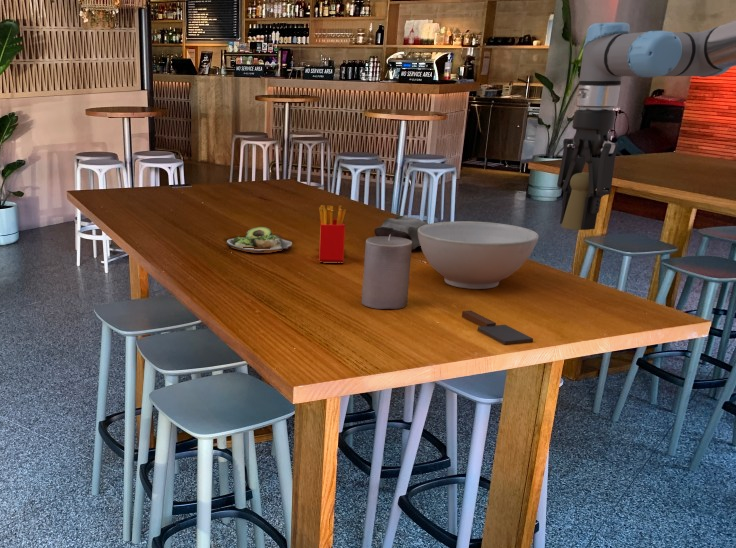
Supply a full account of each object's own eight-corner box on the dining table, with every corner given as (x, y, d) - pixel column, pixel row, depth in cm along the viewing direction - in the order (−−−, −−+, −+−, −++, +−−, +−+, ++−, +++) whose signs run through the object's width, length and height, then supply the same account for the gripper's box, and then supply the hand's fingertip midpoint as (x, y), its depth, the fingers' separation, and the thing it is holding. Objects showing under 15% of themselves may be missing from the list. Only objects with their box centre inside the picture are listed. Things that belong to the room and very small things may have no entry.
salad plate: (309, 250, 220) (310, 234, 219) (257, 258, 212) (257, 241, 210) (269, 239, 236) (270, 223, 234) (219, 246, 227) (218, 230, 225)
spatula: (532, 342, 146) (533, 335, 146) (504, 344, 145) (505, 338, 145) (478, 315, 163) (479, 309, 162) (452, 317, 161) (453, 311, 161)
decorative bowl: (543, 278, 191) (551, 228, 186) (513, 304, 170) (521, 248, 166) (435, 264, 205) (440, 217, 200) (396, 286, 184) (400, 235, 179)
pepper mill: (554, 225, 166) (562, 171, 162) (578, 224, 168) (587, 170, 164) (574, 230, 161) (583, 175, 157) (599, 229, 163) (608, 174, 159)
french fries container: (317, 264, 206) (319, 209, 200) (316, 256, 214) (318, 204, 209) (344, 264, 205) (347, 210, 200) (343, 256, 213) (345, 204, 208)
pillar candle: (378, 295, 177) (383, 228, 171) (416, 303, 170) (422, 234, 165) (352, 303, 171) (356, 234, 165) (389, 313, 164) (395, 241, 159)
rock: (367, 241, 232) (369, 214, 229) (401, 239, 235) (403, 212, 232) (399, 254, 216) (401, 225, 213) (435, 252, 219) (438, 223, 216)
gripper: (548, 107, 164) (533, 219, 172) (612, 111, 147) (592, 235, 155) (580, 106, 165) (563, 217, 174) (646, 110, 148) (624, 233, 157)
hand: (576, 226), depth 164 cm, fingers closed on pepper mill, 6 cm apart
